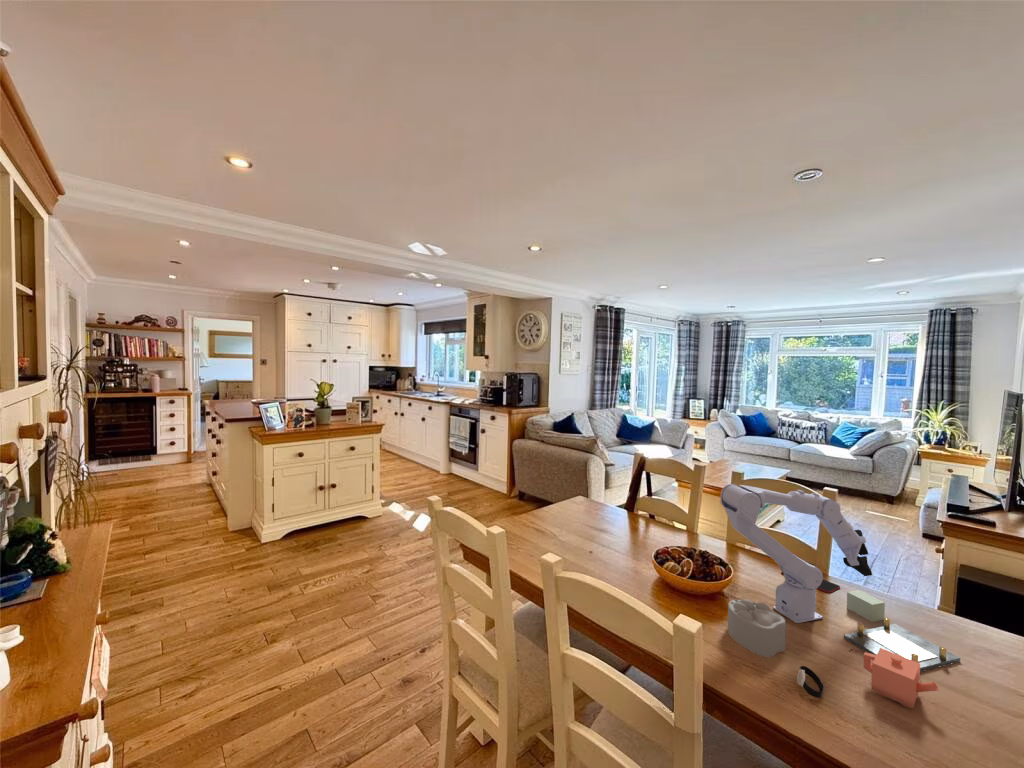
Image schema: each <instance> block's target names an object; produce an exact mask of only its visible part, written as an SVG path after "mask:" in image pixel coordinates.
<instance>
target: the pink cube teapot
mask: <svg viewBox="0 0 1024 768" xmlns="http://www.w3.org/2000/svg"><path fill="white" fill-rule="evenodd" d="M872 661H873V662H872ZM863 669H865V670H866V671H867V672H868V673H870V674H871V691H872V692H875V693H876V694H877V695H879V696H881V697H886V698H888V699H890V700H893V701H894V702H895V701H896V702H897V703H899V704H901V705H902V706H903V707H905V708H909V709H912V710H913V709H914V708H915V704H916V702H917V698H918V695H919V693H927V692H939V691H940V690H939V687H938V686H937V684H936V683H935V682H934V681H929V682H921V681H920V679H921V672H920V663H918V662H915V661H913V660H910V659H907V658H905V657H902V656H900V655H897V654H895V653H892V652H889V651H887V650H884V649H882V648H880V649H879V651H878V653H877V655H874V654H870V653H867V652H865V651H864V653H863ZM920 682H921V683H920Z"/></svg>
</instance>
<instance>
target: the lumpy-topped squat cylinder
mask: <svg viewBox="0 0 1024 768" xmlns="http://www.w3.org/2000/svg"><path fill="white" fill-rule="evenodd" d="M727 632H728V635H729V634H730V635H729V636H730V638H731V639H732V638H733V639H732V640H733V641H734V642H735V641H736V643H737V644H738V645H740V646H742V647H743V648H745V649H746V650H748V651H750V652H751V653H753V654H756V655H758V656H760V657H764V658H765V657H766V658H772V657H774V656H775V655H777V654H778V653H781V652H783V651H785V649H786V620H785V618H784V617H783V616H782V615H781V614H779V613H778V612H776V611H773V610H772V609H771V608H770V606H769V605H767V604H766V603H764V602H755V601H753V602H752V600H751V601H750V600H749V599H745V598H744V599H732V600H730V601H729V602H728V604H727Z"/></svg>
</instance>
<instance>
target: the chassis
mask: <svg viewBox="0 0 1024 768" xmlns="http://www.w3.org/2000/svg"><path fill="white" fill-rule="evenodd" d="M843 639H845V640H846V641H847V642H849V643H851V644H852V645H854V646H856V648H859V649H861V650H862V651H863V652H864V653H865V652H867V653H870V654H874V655H877V653H878V651H879V649H880V648H882V649H884V650H887V651H889V652H892V653H895V654H897V655H900V656H902V657H905V658H907V659H910V660H913V661H915V662H918V663H920V673H922V672H925V671H924V670H926V671H928V669H930V670H933V669H932V668H934V669H937V668H936V667H938V668H940V667H939V666H942V667H944V666H943V665H946V666H949V665H948V664H950V665H952V664H951V663H954V664H957V663H956V662H958V663H960V662H961V657H959V656H957V655H956V654H954V653H952V652H950V651H949V650H947V648H946V647H943V646H939V645H936V644H934V643H933V642H931V641H929V640H927V639H925V638H923V637H921V636H919V635H917V634H915V633H913V632H912V631H909V630H907V629H906V628H904V627H902V626H900V625H898V624H897V623H893V624H891V620H890V618H888V617H884V620H883V626H879V627H873V628H869V629H865V630H864V624H863V623H859V622H858V623H857V630H856V631H854V632H850V633H845V634H843ZM921 671H922V672H921Z"/></svg>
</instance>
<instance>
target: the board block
mask: <svg viewBox="0 0 1024 768" xmlns="http://www.w3.org/2000/svg"><path fill="white" fill-rule="evenodd" d="M885 605H886V603H885V601H883V600H880V599H878V598H877V597H874V596H872V595H870V594H868V593H867V592H865V591H863V590H860V589H857V590H851V591H847V592H846V609H847V610H849V611H850V612H853V613H855V614H857V615H858V616H860V617H862V618H865V619H866V620H868V622H869V621H870V622H871V623H873V622H878V621H884V618H885V613H886V612H885V610H886V609H885V607H886V606H885Z"/></svg>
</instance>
